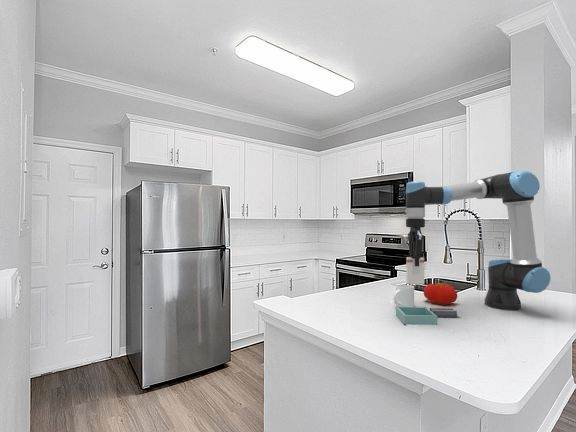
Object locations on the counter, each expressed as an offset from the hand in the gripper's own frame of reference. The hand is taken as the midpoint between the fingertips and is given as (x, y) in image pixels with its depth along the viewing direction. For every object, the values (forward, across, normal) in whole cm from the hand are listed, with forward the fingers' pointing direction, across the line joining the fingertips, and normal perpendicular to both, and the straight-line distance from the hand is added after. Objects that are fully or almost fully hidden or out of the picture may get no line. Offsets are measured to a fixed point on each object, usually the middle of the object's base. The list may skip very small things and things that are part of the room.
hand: (415, 273), depth 137 cm
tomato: (+20, -28, +21) cm, 41 cm away
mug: (+20, -20, 0) cm, 28 cm away
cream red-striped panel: (+4, 0, 0) cm, 4 cm away
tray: (+20, 0, 0) cm, 20 cm away
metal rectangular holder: (+20, -6, +14) cm, 25 cm away
